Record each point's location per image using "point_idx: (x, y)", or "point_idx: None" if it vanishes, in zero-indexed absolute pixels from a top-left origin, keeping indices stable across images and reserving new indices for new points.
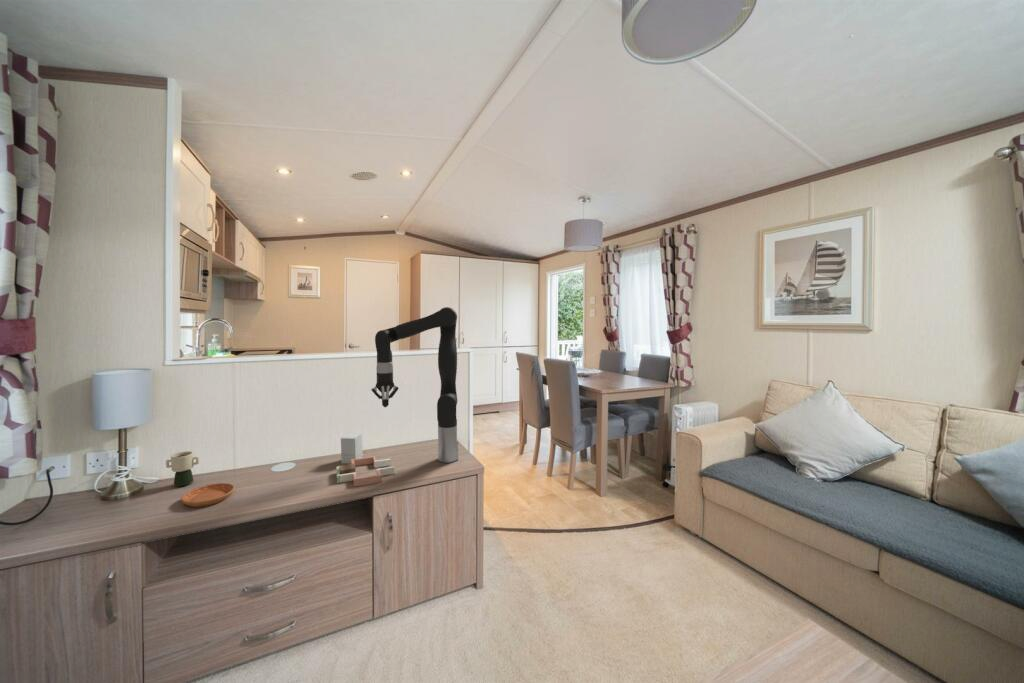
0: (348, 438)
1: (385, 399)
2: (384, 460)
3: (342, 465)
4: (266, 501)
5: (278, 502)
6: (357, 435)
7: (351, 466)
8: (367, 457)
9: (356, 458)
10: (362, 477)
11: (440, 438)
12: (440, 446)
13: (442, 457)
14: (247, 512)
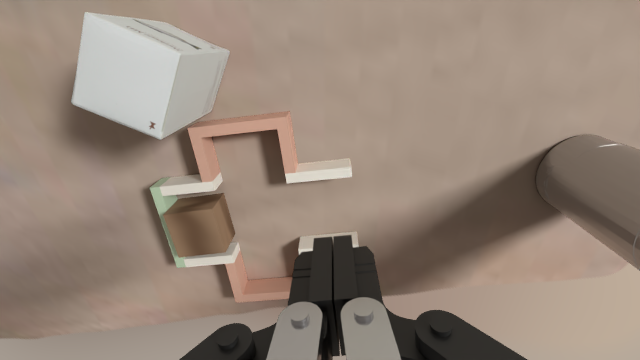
0: (120, 123)
1: (339, 337)
2: (325, 178)
3: (172, 216)
4: (40, 302)
5: (74, 314)
6: (159, 85)
7: (208, 234)
8: (253, 125)
9: (207, 108)
10: (259, 297)
11: (611, 245)
12: (581, 222)
13: (555, 206)
14: (30, 337)
